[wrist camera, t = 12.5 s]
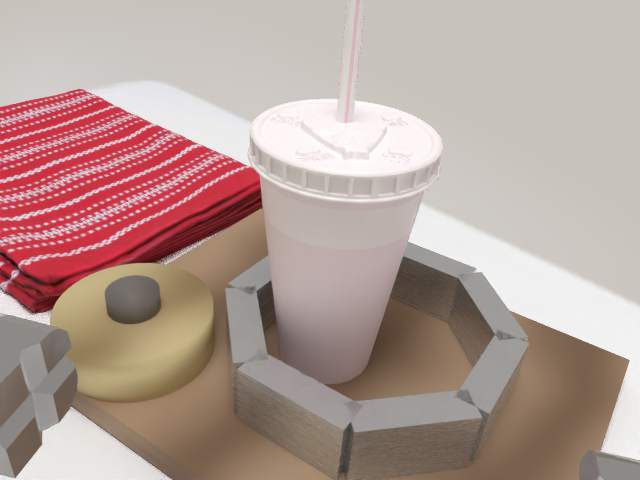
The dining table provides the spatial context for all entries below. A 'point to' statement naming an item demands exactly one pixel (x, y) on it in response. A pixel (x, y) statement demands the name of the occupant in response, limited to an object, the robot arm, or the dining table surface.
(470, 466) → the carrier board
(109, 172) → the dish towel
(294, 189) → the smoothie
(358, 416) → the socket ring
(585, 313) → the dining table surface
